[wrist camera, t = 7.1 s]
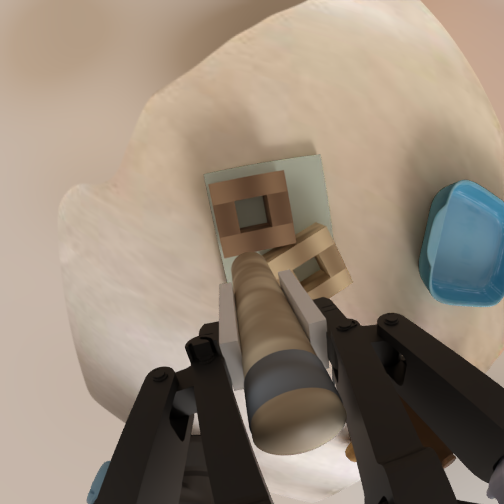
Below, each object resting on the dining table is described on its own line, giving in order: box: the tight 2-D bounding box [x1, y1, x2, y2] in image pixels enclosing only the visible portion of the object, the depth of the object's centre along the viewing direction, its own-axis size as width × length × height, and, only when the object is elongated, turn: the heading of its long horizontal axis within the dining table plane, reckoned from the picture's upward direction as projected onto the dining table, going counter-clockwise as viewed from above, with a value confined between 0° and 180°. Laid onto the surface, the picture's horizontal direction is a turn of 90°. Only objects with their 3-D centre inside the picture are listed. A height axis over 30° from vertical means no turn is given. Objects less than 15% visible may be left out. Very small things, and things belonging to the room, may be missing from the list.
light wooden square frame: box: [262, 222, 353, 300], centre depth 37 cm, size 9×9×4 cm
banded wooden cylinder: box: [231, 252, 347, 455], centre depth 15 cm, size 3×3×16 cm
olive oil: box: [397, 393, 456, 469], centre depth 38 cm, size 11×11×25 cm
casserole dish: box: [419, 180, 504, 307], centre depth 40 cm, size 37×22×7 cm, turn 79°
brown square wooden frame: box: [208, 170, 296, 258], centre depth 34 cm, size 9×9×4 cm
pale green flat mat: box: [204, 154, 334, 287], centre depth 38 cm, size 16×20×1 cm
